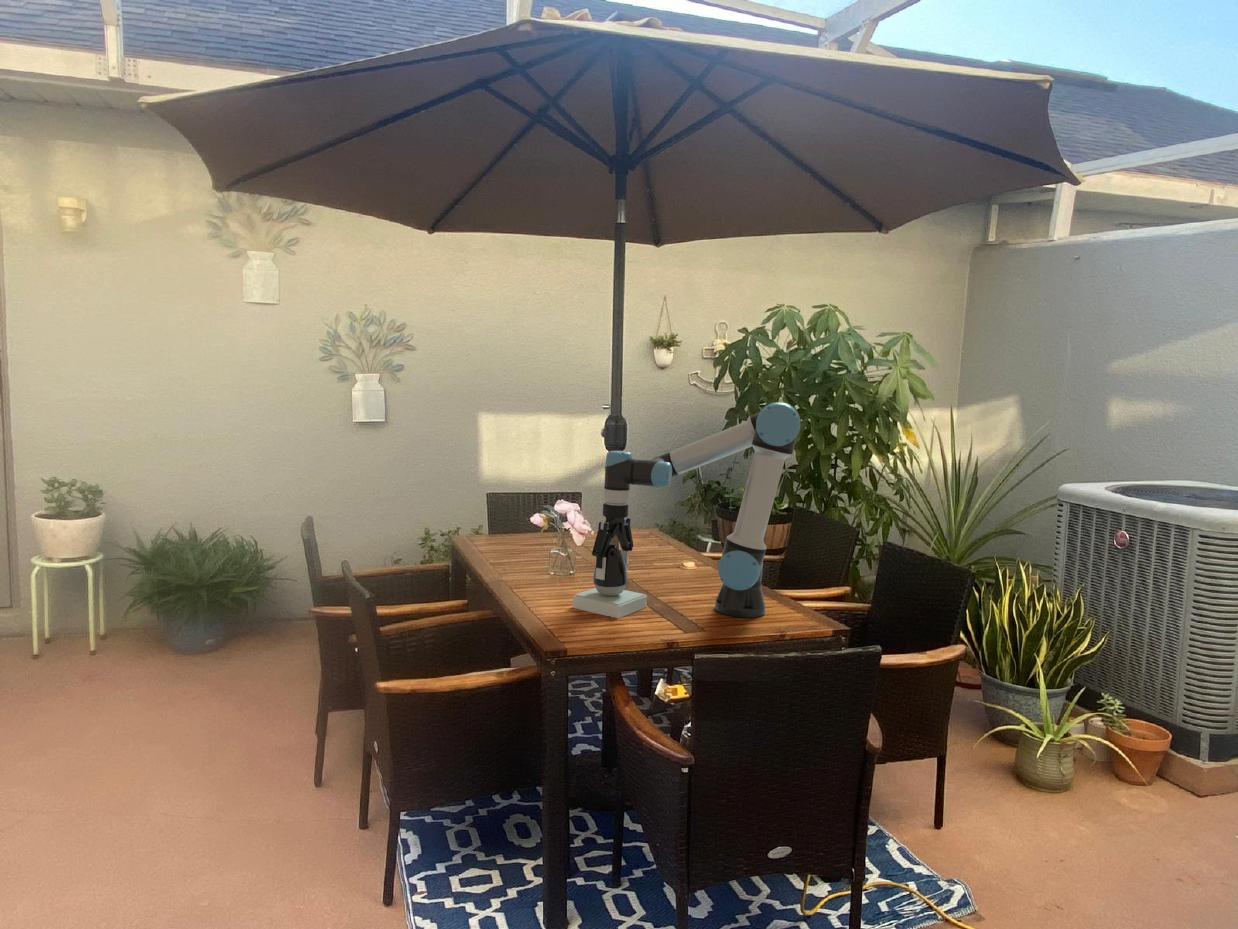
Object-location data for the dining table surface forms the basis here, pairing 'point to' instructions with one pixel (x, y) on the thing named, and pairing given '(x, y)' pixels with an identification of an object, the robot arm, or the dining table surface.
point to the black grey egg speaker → (612, 573)
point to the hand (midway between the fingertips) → (611, 575)
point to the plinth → (610, 603)
